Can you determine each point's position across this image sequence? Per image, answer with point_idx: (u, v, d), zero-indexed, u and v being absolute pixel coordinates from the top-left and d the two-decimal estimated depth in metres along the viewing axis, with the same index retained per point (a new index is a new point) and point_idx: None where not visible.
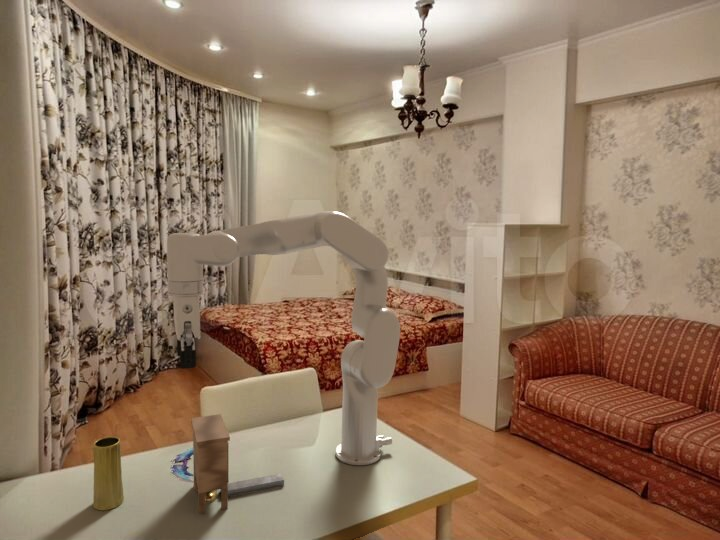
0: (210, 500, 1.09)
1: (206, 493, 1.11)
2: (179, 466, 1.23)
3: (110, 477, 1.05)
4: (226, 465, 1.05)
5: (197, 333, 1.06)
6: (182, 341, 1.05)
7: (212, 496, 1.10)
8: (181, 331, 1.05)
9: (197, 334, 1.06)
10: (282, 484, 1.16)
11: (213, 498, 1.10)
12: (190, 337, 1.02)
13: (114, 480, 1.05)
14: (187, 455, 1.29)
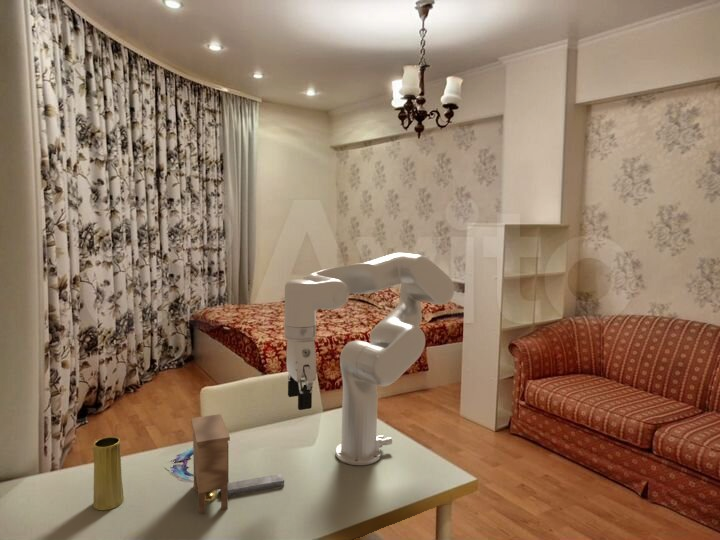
0: (210, 500, 1.09)
1: (206, 493, 1.11)
2: (179, 466, 1.23)
3: (110, 477, 1.05)
4: (226, 465, 1.05)
5: (313, 375, 1.13)
6: (301, 384, 1.12)
7: (212, 496, 1.10)
8: (300, 376, 1.11)
9: (314, 376, 1.13)
10: (282, 484, 1.16)
11: (213, 498, 1.10)
12: (311, 383, 1.09)
13: (114, 480, 1.05)
14: (187, 455, 1.29)
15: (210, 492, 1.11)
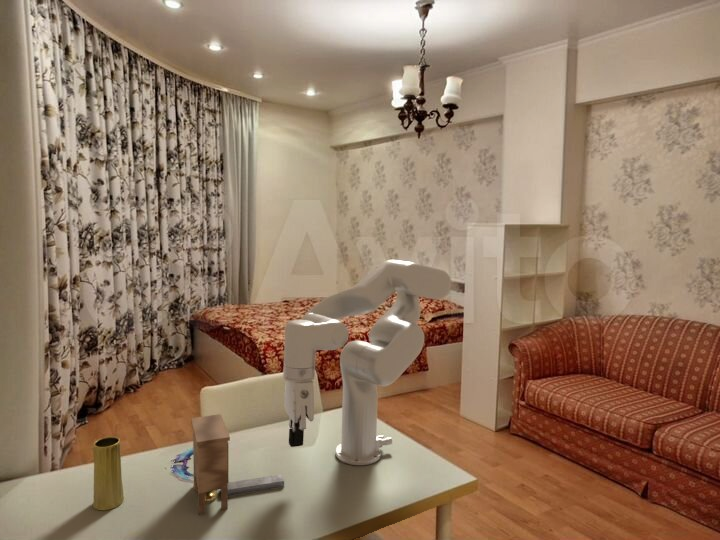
0: (210, 500, 1.09)
1: (206, 493, 1.11)
2: (179, 466, 1.23)
3: (110, 477, 1.05)
4: (226, 465, 1.05)
5: (311, 416, 1.14)
6: (294, 425, 1.15)
7: (212, 496, 1.10)
8: None
9: (311, 417, 1.13)
10: (282, 485, 1.16)
11: (213, 498, 1.10)
12: None
13: (114, 480, 1.05)
14: (187, 455, 1.29)
15: (210, 492, 1.11)
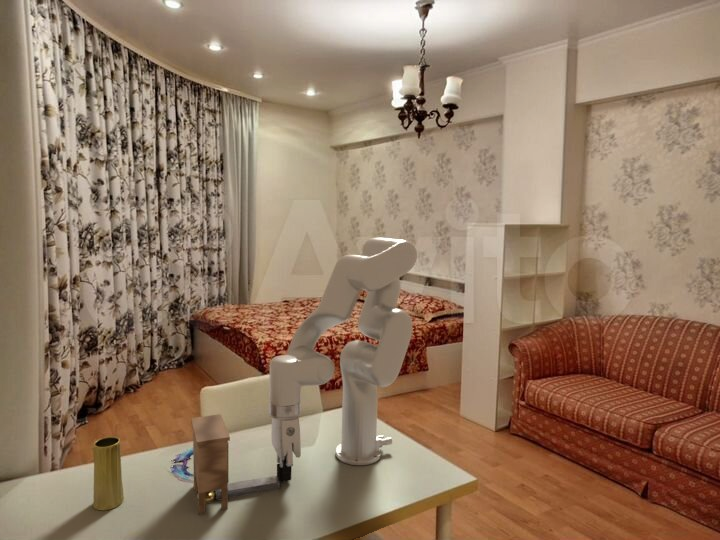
0: (209, 500, 1.09)
1: (205, 493, 1.11)
2: (179, 466, 1.23)
3: (110, 477, 1.05)
4: (226, 465, 1.05)
5: (298, 452, 1.13)
6: (282, 461, 1.15)
7: (211, 496, 1.10)
8: None
9: (298, 454, 1.13)
10: (277, 486, 1.15)
11: (212, 498, 1.09)
12: None
13: (114, 480, 1.05)
14: (187, 455, 1.29)
15: (209, 492, 1.11)
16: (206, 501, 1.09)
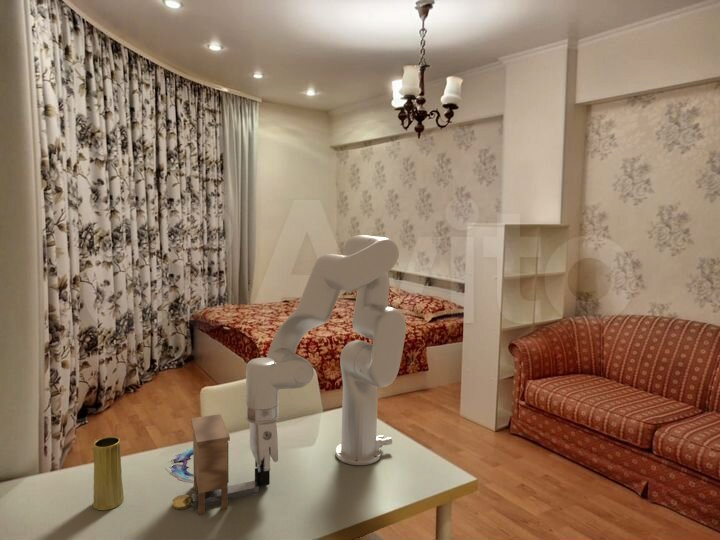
0: (182, 507, 1.06)
1: (181, 498, 1.08)
2: (179, 466, 1.23)
3: (110, 477, 1.05)
4: (226, 465, 1.05)
5: (275, 457, 1.11)
6: (259, 465, 1.13)
7: (185, 503, 1.07)
8: None
9: (276, 458, 1.11)
10: (256, 491, 1.12)
11: (185, 505, 1.06)
12: None
13: (114, 480, 1.05)
14: (187, 455, 1.29)
15: (185, 498, 1.08)
16: (179, 507, 1.06)
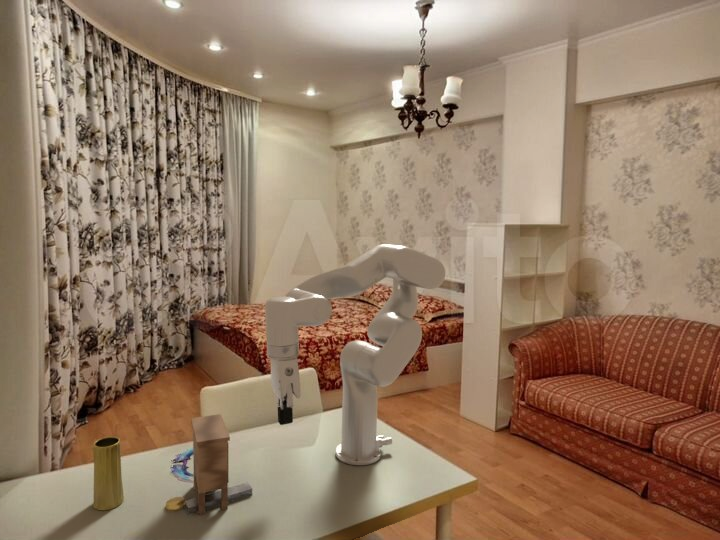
0: (174, 509, 1.05)
1: (175, 501, 1.07)
2: (179, 466, 1.23)
3: (110, 477, 1.05)
4: (226, 465, 1.05)
5: (298, 393, 1.12)
6: (282, 403, 1.14)
7: (177, 506, 1.06)
8: None
9: (298, 394, 1.12)
10: (250, 493, 1.12)
11: (178, 508, 1.06)
12: (291, 406, 1.11)
13: (114, 480, 1.05)
14: (187, 455, 1.29)
15: (179, 501, 1.08)
16: (171, 510, 1.05)
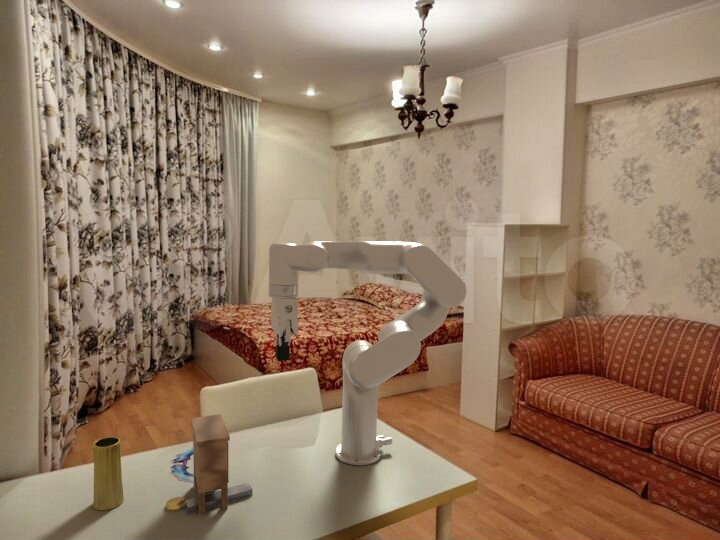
0: (174, 509, 1.05)
1: (175, 501, 1.07)
2: (179, 466, 1.23)
3: (110, 477, 1.05)
4: (226, 465, 1.05)
5: (295, 330, 1.22)
6: (280, 339, 1.24)
7: (177, 506, 1.06)
8: (281, 335, 1.22)
9: (296, 331, 1.22)
10: (250, 493, 1.12)
11: (178, 508, 1.06)
12: (289, 341, 1.22)
13: (114, 480, 1.05)
14: (187, 455, 1.29)
15: (179, 501, 1.08)
16: (171, 510, 1.05)
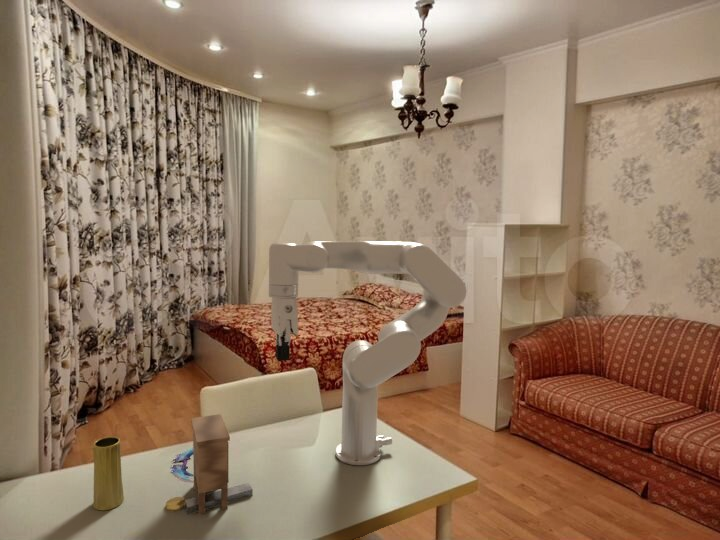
0: (174, 509, 1.05)
1: (175, 501, 1.07)
2: (179, 466, 1.23)
3: (110, 477, 1.05)
4: (226, 465, 1.05)
5: (295, 330, 1.22)
6: (280, 339, 1.24)
7: (177, 505, 1.06)
8: (281, 335, 1.22)
9: (296, 331, 1.22)
10: (250, 494, 1.12)
11: (178, 508, 1.06)
12: (289, 341, 1.22)
13: (114, 480, 1.05)
14: (187, 455, 1.29)
15: (179, 501, 1.08)
16: (171, 510, 1.05)
